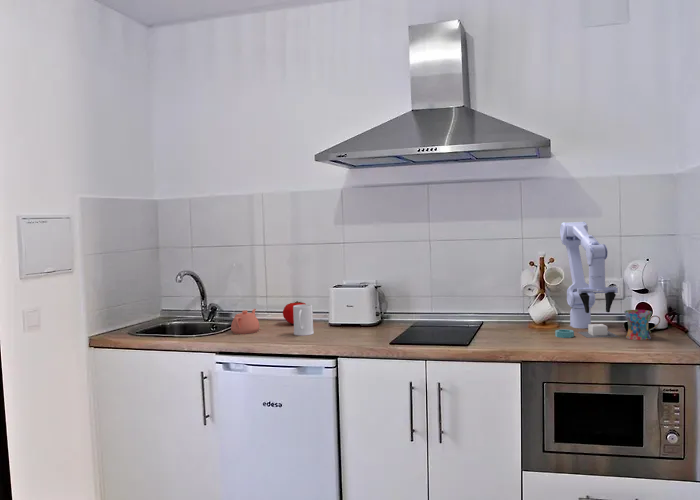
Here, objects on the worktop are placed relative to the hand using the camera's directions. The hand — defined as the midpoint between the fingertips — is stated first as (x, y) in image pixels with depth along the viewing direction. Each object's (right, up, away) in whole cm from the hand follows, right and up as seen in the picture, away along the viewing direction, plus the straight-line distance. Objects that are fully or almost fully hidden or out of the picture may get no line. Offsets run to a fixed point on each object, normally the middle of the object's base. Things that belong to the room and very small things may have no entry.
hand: (597, 312), depth 248 cm
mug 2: (+13, -10, -9) cm, 18 cm away
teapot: (-139, -13, +40) cm, 145 cm away
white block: (0, -8, 0) cm, 8 cm away
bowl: (-13, -10, -1) cm, 16 cm away
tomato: (-118, -11, +56) cm, 131 cm away
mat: (0, -9, +1) cm, 9 cm away
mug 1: (-113, -12, +28) cm, 117 cm away
